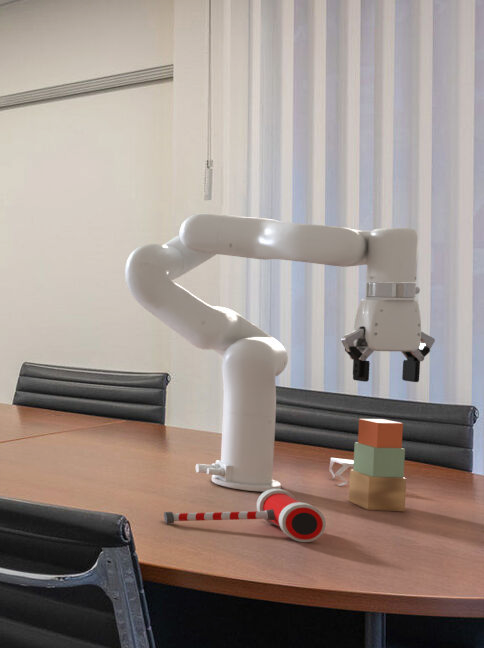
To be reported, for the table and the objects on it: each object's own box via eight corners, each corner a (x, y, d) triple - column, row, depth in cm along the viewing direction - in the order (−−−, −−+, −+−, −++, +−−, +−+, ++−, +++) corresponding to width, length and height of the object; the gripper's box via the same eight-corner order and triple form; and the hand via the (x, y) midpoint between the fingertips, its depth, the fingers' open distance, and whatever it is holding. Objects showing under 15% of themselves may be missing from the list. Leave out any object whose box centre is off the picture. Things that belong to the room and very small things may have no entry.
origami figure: (317, 482, 184) (318, 460, 183) (329, 477, 189) (331, 455, 189) (385, 494, 174) (386, 470, 174) (397, 488, 179) (398, 465, 179)
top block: (376, 447, 162) (378, 422, 161) (357, 442, 167) (359, 418, 166) (401, 448, 162) (403, 423, 161) (381, 443, 167) (383, 419, 166)
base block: (367, 509, 162) (369, 476, 162) (348, 501, 168) (350, 469, 168) (404, 511, 161) (406, 478, 161) (384, 502, 167) (386, 471, 167)
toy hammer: (174, 532, 145) (175, 496, 145) (155, 514, 157) (157, 480, 156) (325, 544, 140) (327, 506, 140) (294, 524, 151) (296, 489, 151)
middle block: (372, 476, 162) (374, 447, 162) (353, 470, 167) (354, 442, 167) (403, 477, 161) (405, 448, 161) (382, 471, 167) (384, 443, 167)
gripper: (418, 292, 166) (413, 379, 167) (331, 291, 166) (326, 378, 167) (451, 293, 159) (446, 383, 160) (360, 292, 159) (355, 382, 159)
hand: (385, 381), depth 163 cm, fingers open, 9 cm apart
